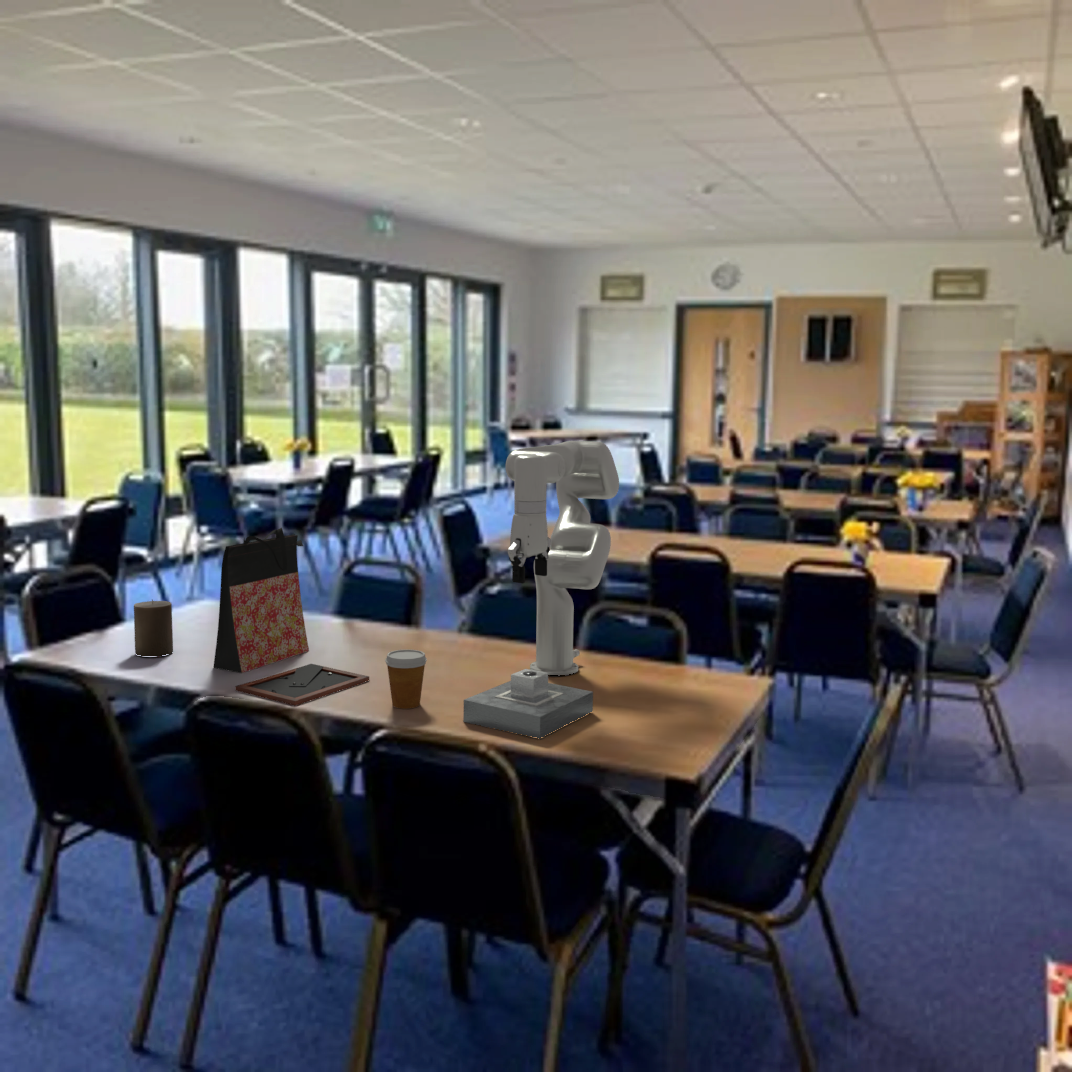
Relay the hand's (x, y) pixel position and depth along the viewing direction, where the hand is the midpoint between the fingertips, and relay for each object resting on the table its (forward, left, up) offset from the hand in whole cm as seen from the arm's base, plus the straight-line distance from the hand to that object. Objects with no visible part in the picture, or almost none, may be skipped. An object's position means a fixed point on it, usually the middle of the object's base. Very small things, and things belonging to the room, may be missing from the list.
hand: (529, 578), depth 247 cm
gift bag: (+15, -73, -28) cm, 80 cm away
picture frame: (+28, -47, -29) cm, 62 cm away
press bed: (+16, +11, -28) cm, 34 cm away
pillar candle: (+30, -101, -28) cm, 109 cm away
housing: (+16, +11, -23) cm, 30 cm away
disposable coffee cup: (+25, -17, -28) cm, 41 cm away
